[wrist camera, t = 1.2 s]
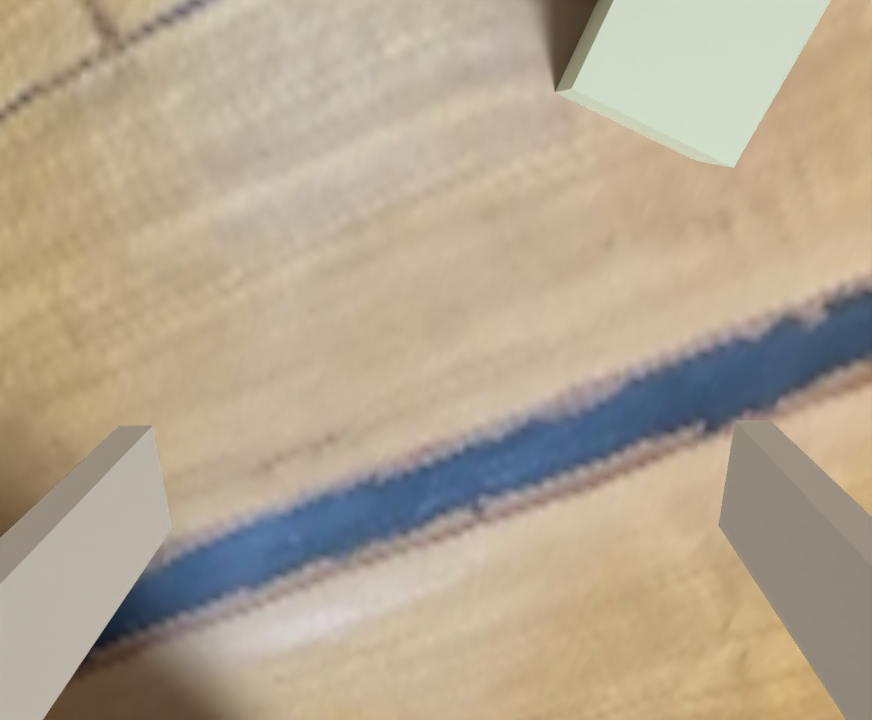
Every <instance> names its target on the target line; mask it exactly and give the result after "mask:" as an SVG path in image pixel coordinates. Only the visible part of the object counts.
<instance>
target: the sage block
mask: <svg viewBox="0 0 872 720" xmlns="http://www.w3.org/2000/svg"><path fill="white" fill-rule="evenodd" d="M830 1H831V0H598V1H597V4H596V6H595V8H594V10H593V12H592V14H591V16H590V19H589V21H588V23H587V25H586V27H585V29H584V31H583V34H582V36H581V38H580V40H579V42H578V44H577V46H576V49H575V51H574V53H573V55H572V57H571V59H570V61H569V63H568V66H567V68H566V70H565V72H564V74H563V76H562V78H561V81H560V83H559V85H558V87H557V89H556V91H555V93H557V94H559V95H561V96H563V97H566V98H568V99H570V100H572V101H574V102H576V103H578V104H580V105H582V106H584V107H586V108H588V109H590V110H592V111H594V112H596V113H598V114H600V115H603V116H605V117H607V118H609V119H611V120H613V121H615V122H617V123H619V124H621V125H623V126H625V127H627V128H629V129H631V130H633V131H635V132H638V133H640V134H642V135H644V136H646V137H648V138H650V139H652V140H654V141H656V142H658V143H660V144H662V145H664V146H666V147H668V148H670V149H672V150H675V151H677V152H679V153H681V154H683V155H685V156H687V157H689V158H691V159H693V160H695V161H700V162H706V163H711V164H717V165H722V166H728V167H733V168H734V166H735V164H736V162H737V161H738V159H739V157H740V156H741V154H742V152H743V150H744V149H745V147H746V145H747V144H748V142H749V140H750V138H751V137H752V135H753V133H754V132H755V130H756V128H757V126H758V125H759V123H760V121H761V120H762V118H763V116H764V114H765V113H766V111H767V109H768V107H769V106H770V104H771V102H772V101H773V99H774V97H775V95H776V94H777V92H778V90H779V89H780V87H781V85H782V83H783V82H784V80H785V78H786V77H787V75H788V73H789V71H790V70H791V68H792V66H793V65H794V63H795V61H796V59H797V58H798V56H799V54H800V53H801V51H802V49H803V47H804V46H805V44H806V42H807V41H808V39H809V37H810V35H811V34H812V32H813V30H814V29H815V27H816V25H817V23H818V22H819V20H820V18H821V17H822V15H823V13H824V11H825V10H826V8H827V6H828V4H829V3H830Z"/></svg>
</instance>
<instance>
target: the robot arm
mask: <svg viewBox="0 0 872 720" xmlns="http://www.w3.org/2000/svg"><path fill="white" fill-rule="evenodd" d="M719 527H720V528H721V530H722V531H723V533H724V534H725V536H726V537H727V539H728V540H729V542H730V544H731V545H732V547H733V548H734V550H735V551H736V553H737V554H738V556H739V557H740V559H741V560H742V562H743V563H744V565H745V566H746V568H747V569H748V571H749V572H750V574H751V576H752V577H753V579H754V580H755V582H756V583H757V585H758V586H759V588H760V589H761V591H762V592H763V594H764V595H765V597H766V598H767V600H768V601H769V603H770V604H771V606H772V608H773V609H774V611H775V612H776V614H777V615H778V617H779V618H780V620H781V621H782V623H783V624H784V626H785V627H786V629H787V630H788V632H789V633H790V635H791V636H792V638H793V640H794V641H795V643H796V644H797V646H798V647H799V649H800V650H801V652H802V653H803V655H804V656H805V658H806V659H807V661H808V662H809V664H810V665H811V667H812V668H813V670H814V672H815V673H816V675H817V676H818V678H819V679H820V681H821V682H822V684H823V685H824V687H825V688H826V690H827V691H828V693H829V694H830V696H831V697H832V699H833V700H834V702H835V704H836V705H837V707H838V708H839V710H840V711H841V713H842V714H843V716H844V717H845V719H846V720H872V517H871V516H870V515H869V514H868V513H867V512H866V511H865V510H864V509H863V508H862V507H861V506H860V505H859V504H858V503H857V502H855V501H854V500H853V499H852V498H851V497H850V496H849V495H848V494H847V493H846V492H845V491H844V490H843V489H842V488H841V487H840V486H839V485H838V484H837V483H835V482H834V481H833V480H832V479H831V478H830V477H829V476H828V475H827V474H826V473H825V472H824V471H823V470H822V469H821V468H820V467H819V466H818V465H817V464H815V463H814V462H813V461H812V460H811V459H810V458H809V457H808V456H807V455H806V454H805V453H804V452H803V451H802V450H801V449H800V448H799V447H798V446H797V445H795V444H794V443H793V442H792V441H791V440H790V439H789V438H788V437H787V436H786V435H785V434H784V433H783V432H782V431H781V430H780V429H779V428H778V427H777V426H775V425H774V424H773V423H772V422H771V421H770V420H759V421H735V426H734V432H733V438H732V444H731V451H730V457H729V463H728V470H727V476H726V482H725V489H724V495H723V501H722V508H721V514H720V520H719ZM171 529H172V524H171V519H170V514H169V508H168V503H167V498H166V493H165V488H164V483H163V477H162V472H161V467H160V462H159V457H158V451H157V446H156V441H155V436H154V431H153V426H119V427H118V428H117V429H116V430H115V431H114V432H113V433H111V434H110V435H109V436H108V437H107V438H106V439H105V440H104V441H103V442H102V443H101V444H100V445H99V446H98V447H96V448H95V449H94V450H93V451H92V452H91V453H90V454H89V455H88V456H87V457H86V458H85V459H84V460H83V461H82V462H80V463H79V464H78V465H77V466H76V467H75V468H74V469H73V470H72V471H71V472H70V473H69V474H68V475H67V476H66V477H64V478H63V479H62V480H61V481H60V482H59V483H58V484H57V485H56V486H55V487H54V488H53V489H52V490H51V491H49V492H48V493H47V494H46V495H45V496H44V497H43V498H42V499H41V500H40V501H39V502H38V503H37V504H36V505H35V506H33V507H32V508H31V509H30V510H29V511H28V512H27V513H26V514H25V515H24V516H23V517H22V518H21V519H20V520H19V521H17V522H16V523H15V524H14V525H13V526H12V527H11V528H10V529H9V530H8V531H7V532H6V533H5V534H4V535H3V536H1V537H0V720H43V719H44V717H45V716H46V714H47V713H48V711H49V710H50V708H51V707H52V705H53V704H54V702H55V701H56V699H57V698H58V697H59V695H60V694H61V692H62V691H63V689H64V688H65V686H66V685H67V683H68V682H69V680H70V679H71V677H72V676H73V674H74V673H75V671H76V670H77V668H78V667H79V665H80V664H81V662H82V661H83V659H84V658H85V657H86V655H87V654H88V652H89V651H90V649H91V648H92V646H93V645H94V643H95V642H96V640H97V639H98V637H99V636H100V634H101V633H102V631H103V630H104V628H105V627H106V625H107V624H108V622H109V621H110V619H111V618H112V617H113V615H114V614H115V612H116V611H117V609H118V608H119V606H120V605H121V603H122V602H123V600H124V599H125V597H126V596H127V594H128V593H129V591H130V590H131V588H132V587H133V585H134V584H135V582H136V581H137V579H138V578H139V577H140V575H141V574H142V572H143V571H144V569H145V568H146V566H147V565H148V563H149V562H150V560H151V559H152V557H153V556H154V554H155V553H156V551H157V550H158V548H159V547H160V545H161V544H162V542H163V541H164V539H165V538H166V537H167V535H168V534H169V532H170V531H171Z"/></svg>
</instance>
